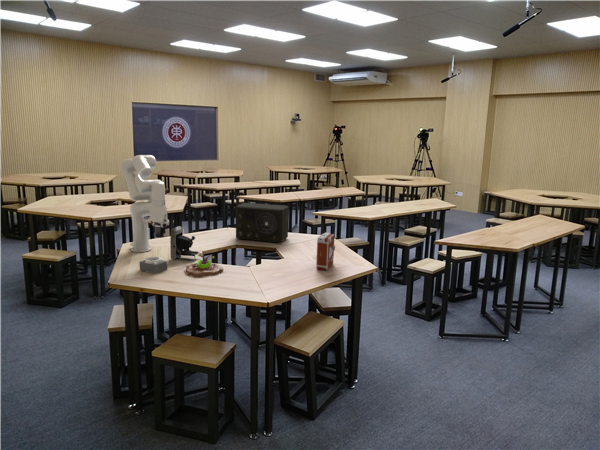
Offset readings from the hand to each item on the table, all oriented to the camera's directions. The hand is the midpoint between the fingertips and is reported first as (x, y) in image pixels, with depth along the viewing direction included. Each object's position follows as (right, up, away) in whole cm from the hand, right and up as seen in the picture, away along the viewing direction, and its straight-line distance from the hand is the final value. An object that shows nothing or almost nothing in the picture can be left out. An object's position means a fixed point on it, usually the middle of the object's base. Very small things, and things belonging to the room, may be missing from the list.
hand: (159, 232), depth 264 cm
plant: (+28, -22, -10) cm, 37 cm away
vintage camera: (+12, -16, +13) cm, 24 cm away
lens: (0, -2, +1) cm, 2 cm away
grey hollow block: (0, -21, -11) cm, 24 cm away
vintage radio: (+54, -6, +67) cm, 86 cm away
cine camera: (+99, -21, +6) cm, 101 cm away
